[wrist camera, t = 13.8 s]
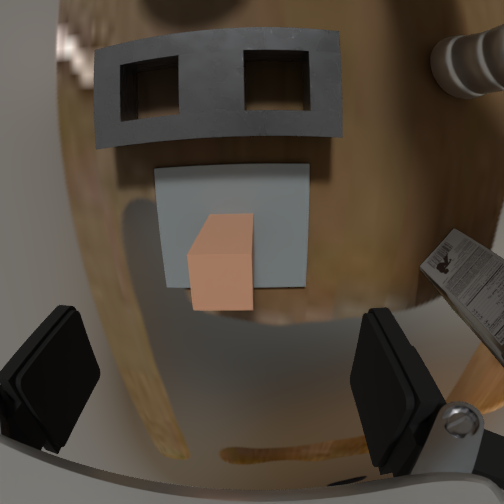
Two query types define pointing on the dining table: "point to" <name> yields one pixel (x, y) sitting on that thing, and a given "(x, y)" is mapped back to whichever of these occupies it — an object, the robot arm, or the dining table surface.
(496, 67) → the plastic bottle
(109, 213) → the dining table surface
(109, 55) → the socket plate
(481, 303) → the coffee box
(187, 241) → the mat
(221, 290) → the plug
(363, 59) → the dining table surface
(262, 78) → the dining table surface
